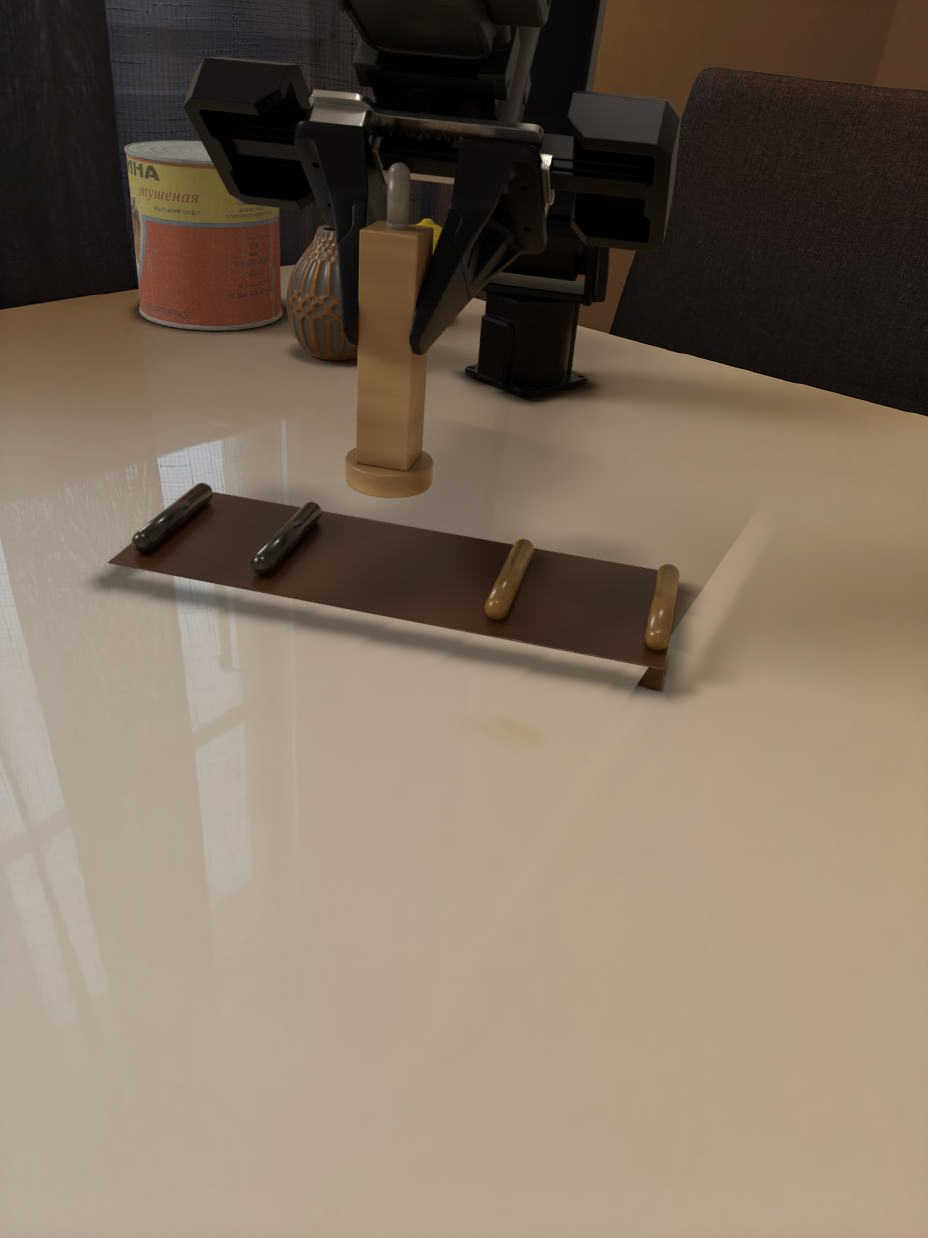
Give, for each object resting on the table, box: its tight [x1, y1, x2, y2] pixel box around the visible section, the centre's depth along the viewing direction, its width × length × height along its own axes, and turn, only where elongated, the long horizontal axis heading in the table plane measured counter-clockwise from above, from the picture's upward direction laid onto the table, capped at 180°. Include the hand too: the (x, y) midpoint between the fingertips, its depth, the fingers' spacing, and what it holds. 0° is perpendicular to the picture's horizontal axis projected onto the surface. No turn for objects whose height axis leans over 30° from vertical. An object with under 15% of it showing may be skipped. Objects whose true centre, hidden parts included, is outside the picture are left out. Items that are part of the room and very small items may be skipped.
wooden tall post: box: [344, 163, 434, 499], centre depth 39 cm, size 4×4×12 cm
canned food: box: [124, 139, 284, 332], centre depth 79 cm, size 11×11×12 cm
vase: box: [286, 224, 358, 361], centre depth 73 cm, size 7×7×9 cm
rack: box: [107, 482, 680, 690], centre depth 45 cm, size 24×8×2 cm, turn 76°
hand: (382, 344), depth 38 cm, fingers closed on wooden tall post, 2 cm apart
